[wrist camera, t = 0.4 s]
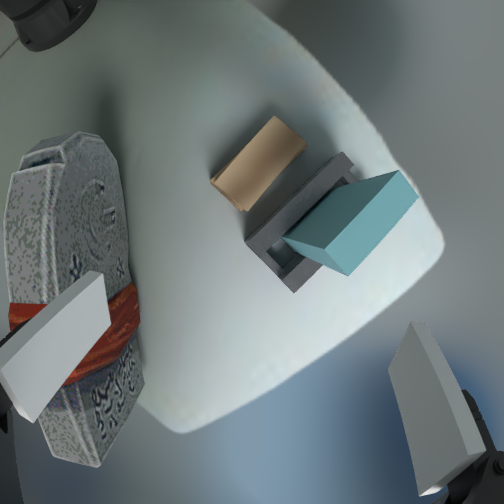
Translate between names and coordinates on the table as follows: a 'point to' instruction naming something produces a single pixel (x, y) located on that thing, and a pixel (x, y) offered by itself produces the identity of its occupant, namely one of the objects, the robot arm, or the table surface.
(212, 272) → the table surface
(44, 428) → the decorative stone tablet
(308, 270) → the board rack
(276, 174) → the block
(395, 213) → the teal board
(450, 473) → the robot arm
